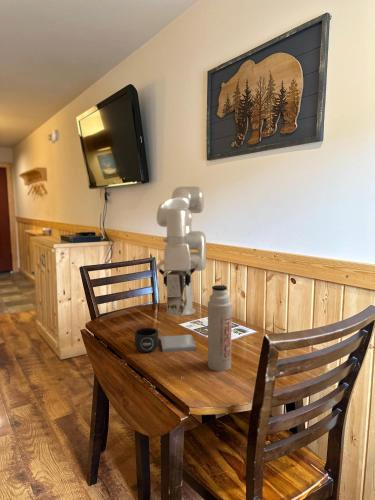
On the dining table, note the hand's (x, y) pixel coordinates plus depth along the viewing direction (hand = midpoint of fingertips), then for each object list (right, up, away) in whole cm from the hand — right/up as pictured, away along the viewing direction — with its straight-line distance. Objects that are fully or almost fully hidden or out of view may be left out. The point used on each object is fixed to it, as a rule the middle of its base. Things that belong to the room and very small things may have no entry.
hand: (177, 285), depth 135 cm
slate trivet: (0, -24, +3) cm, 24 cm away
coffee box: (0, -11, +1) cm, 11 cm away
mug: (-12, -25, 0) cm, 27 cm away
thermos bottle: (+15, -26, -16) cm, 34 cm away
